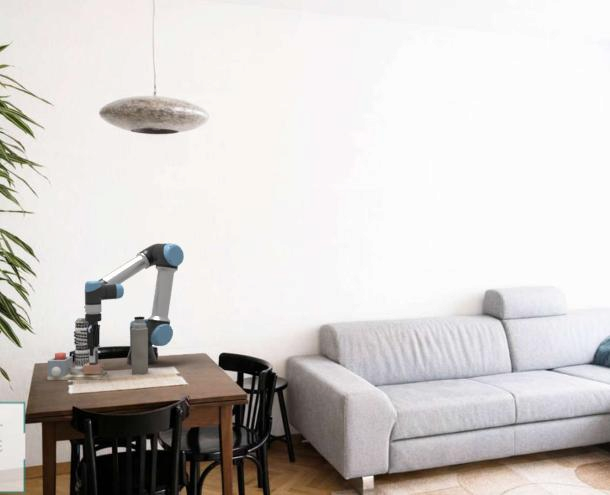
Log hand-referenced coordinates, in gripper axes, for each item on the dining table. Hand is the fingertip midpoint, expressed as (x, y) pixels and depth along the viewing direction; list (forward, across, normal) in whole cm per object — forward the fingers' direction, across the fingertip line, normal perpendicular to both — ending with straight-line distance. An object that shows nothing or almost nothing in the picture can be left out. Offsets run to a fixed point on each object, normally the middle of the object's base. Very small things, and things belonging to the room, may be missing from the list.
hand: (93, 361), depth 314 cm
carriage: (+5, 0, 0) cm, 5 cm away
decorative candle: (+8, -27, -14) cm, 31 cm away
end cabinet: (+8, 0, -16) cm, 18 cm away
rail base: (+8, 0, -8) cm, 11 cm away
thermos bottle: (+8, -9, +20) cm, 23 cm away
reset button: (-1, 0, -16) cm, 16 cm away
